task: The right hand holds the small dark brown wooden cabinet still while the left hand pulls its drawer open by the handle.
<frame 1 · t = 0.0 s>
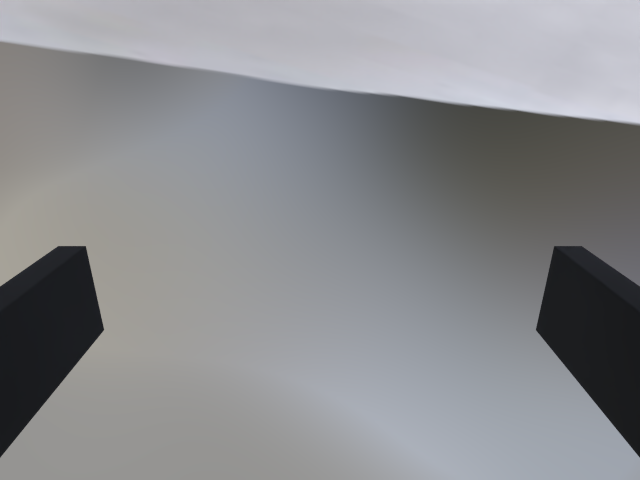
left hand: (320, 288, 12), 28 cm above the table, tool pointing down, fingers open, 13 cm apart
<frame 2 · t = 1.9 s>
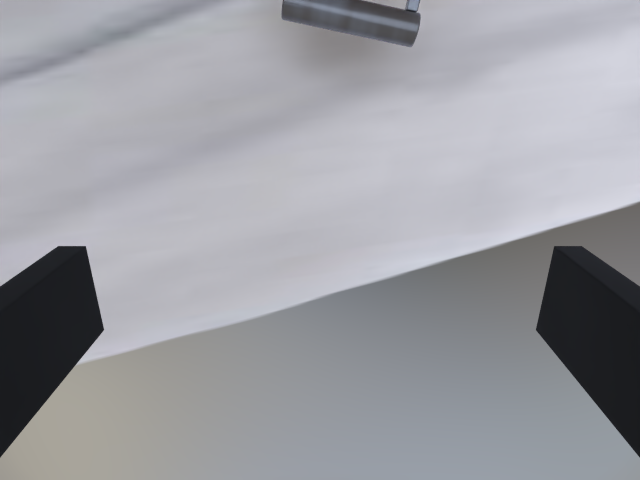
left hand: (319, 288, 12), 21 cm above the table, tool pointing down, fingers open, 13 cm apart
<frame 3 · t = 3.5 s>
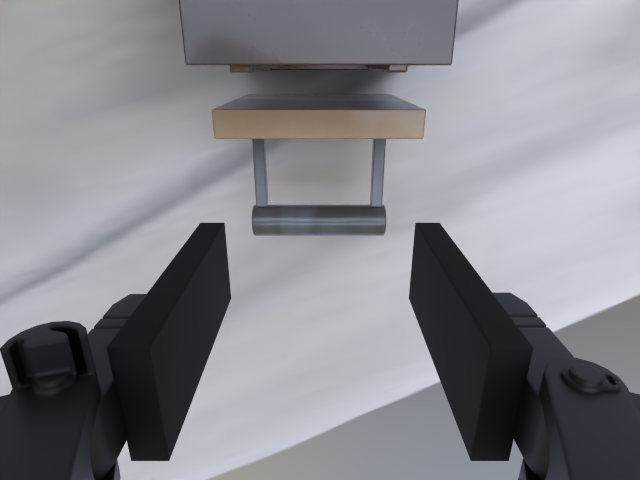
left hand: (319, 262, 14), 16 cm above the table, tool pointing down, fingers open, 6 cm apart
drawer: (318, 7, 21), point 6 cm above the table, slide at 1.7 cm
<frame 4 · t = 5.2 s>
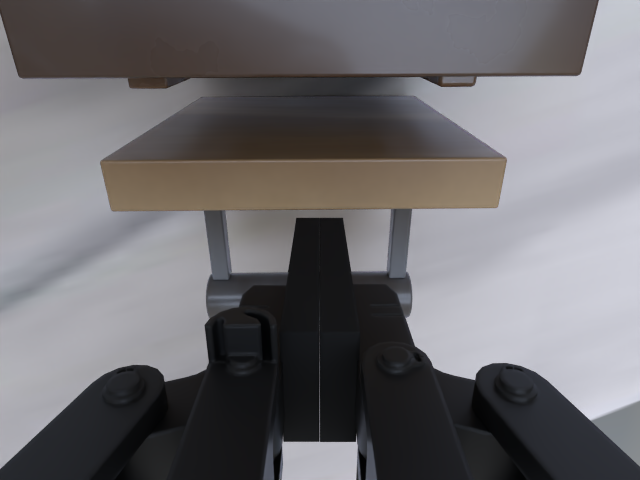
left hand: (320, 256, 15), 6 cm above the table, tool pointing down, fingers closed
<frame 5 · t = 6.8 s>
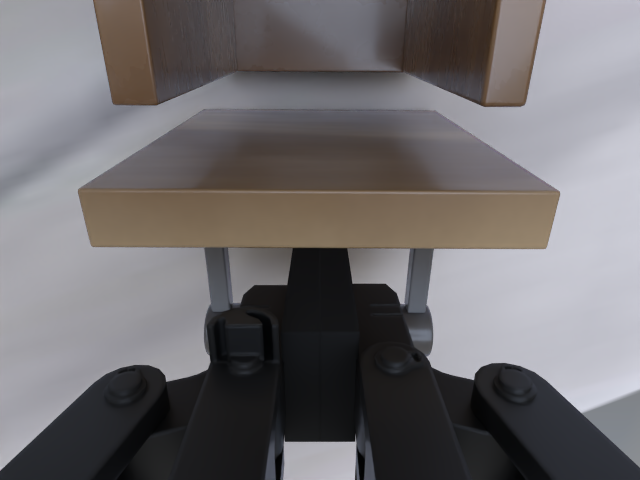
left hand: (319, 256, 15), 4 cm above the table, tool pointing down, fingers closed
when the right hand's fingers open (6 cm above the table, at t = 8.5 s): cabinet stays where it is, on the table.
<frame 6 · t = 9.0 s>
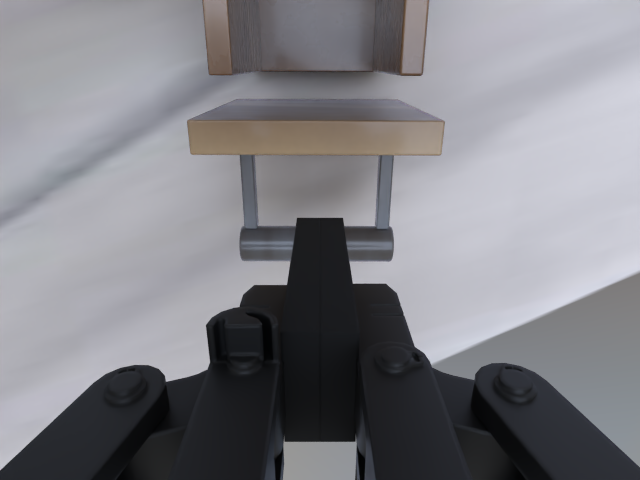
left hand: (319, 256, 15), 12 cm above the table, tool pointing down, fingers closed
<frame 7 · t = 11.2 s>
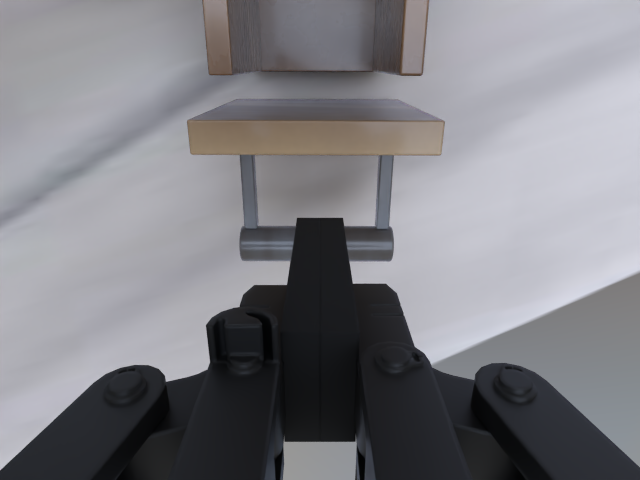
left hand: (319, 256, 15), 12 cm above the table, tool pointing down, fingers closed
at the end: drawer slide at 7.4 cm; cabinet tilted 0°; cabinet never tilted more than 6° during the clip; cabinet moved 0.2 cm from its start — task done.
